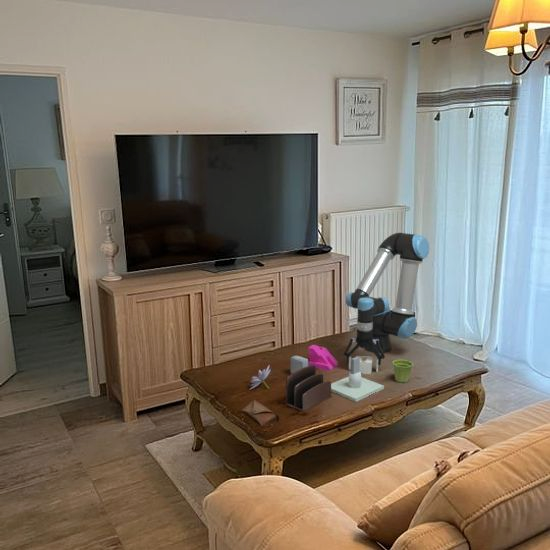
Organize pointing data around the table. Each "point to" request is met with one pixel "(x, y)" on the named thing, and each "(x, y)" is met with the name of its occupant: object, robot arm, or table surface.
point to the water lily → (262, 377)
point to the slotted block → (365, 364)
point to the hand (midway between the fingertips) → (363, 370)
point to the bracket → (321, 358)
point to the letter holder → (306, 388)
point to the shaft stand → (355, 384)
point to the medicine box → (298, 363)
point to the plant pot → (402, 370)
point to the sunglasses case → (260, 413)
